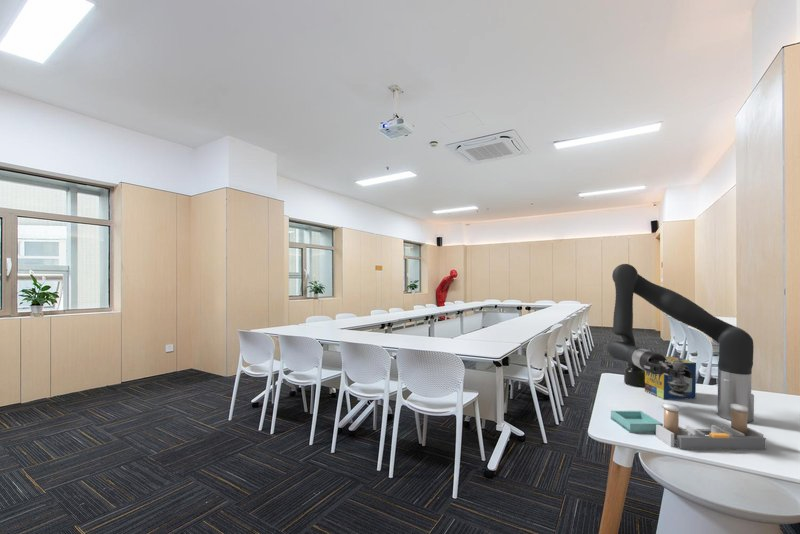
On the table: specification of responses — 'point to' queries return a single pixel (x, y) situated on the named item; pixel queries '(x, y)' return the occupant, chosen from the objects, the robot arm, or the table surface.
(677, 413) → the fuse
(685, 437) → the fuse rail
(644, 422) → the tray
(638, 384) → the ink bottle
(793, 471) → the table surface
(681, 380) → the salt shaker
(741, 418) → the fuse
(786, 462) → the table surface
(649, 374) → the protein box
